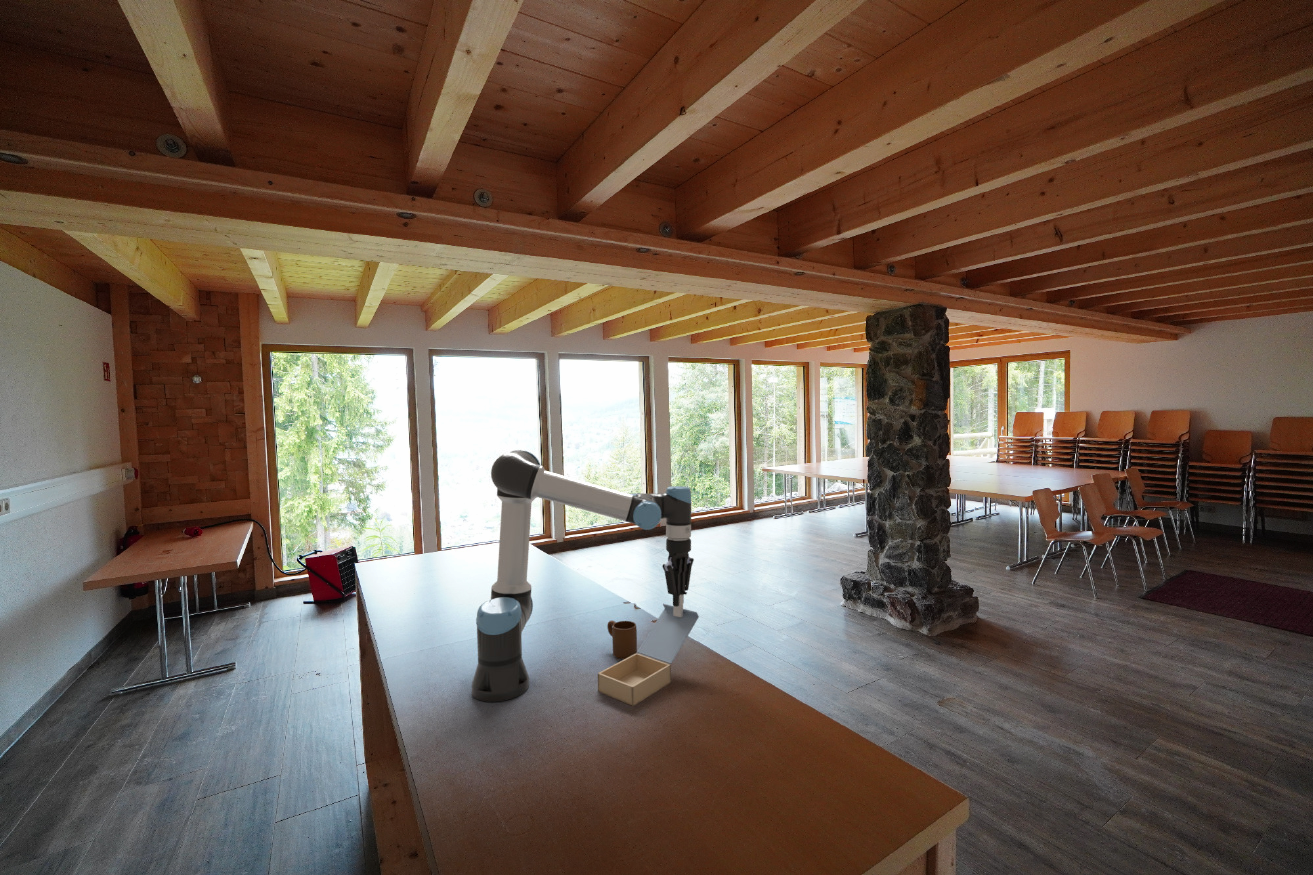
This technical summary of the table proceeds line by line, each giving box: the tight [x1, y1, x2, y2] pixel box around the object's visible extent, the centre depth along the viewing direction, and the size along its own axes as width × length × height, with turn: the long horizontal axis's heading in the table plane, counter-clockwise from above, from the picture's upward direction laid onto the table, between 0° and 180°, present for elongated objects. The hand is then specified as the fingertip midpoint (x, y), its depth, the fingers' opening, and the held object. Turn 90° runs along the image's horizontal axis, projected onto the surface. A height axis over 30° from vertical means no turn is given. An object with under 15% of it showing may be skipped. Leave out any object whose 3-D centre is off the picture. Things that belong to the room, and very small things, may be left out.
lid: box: [637, 603, 700, 665], centre depth 162 cm, size 17×13×2 cm
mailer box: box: [597, 653, 672, 707], centre depth 151 cm, size 16×13×5 cm
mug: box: [606, 620, 638, 660], centre depth 173 cm, size 12×8×9 cm, turn 43°
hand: (678, 615), depth 166 cm, fingers closed
